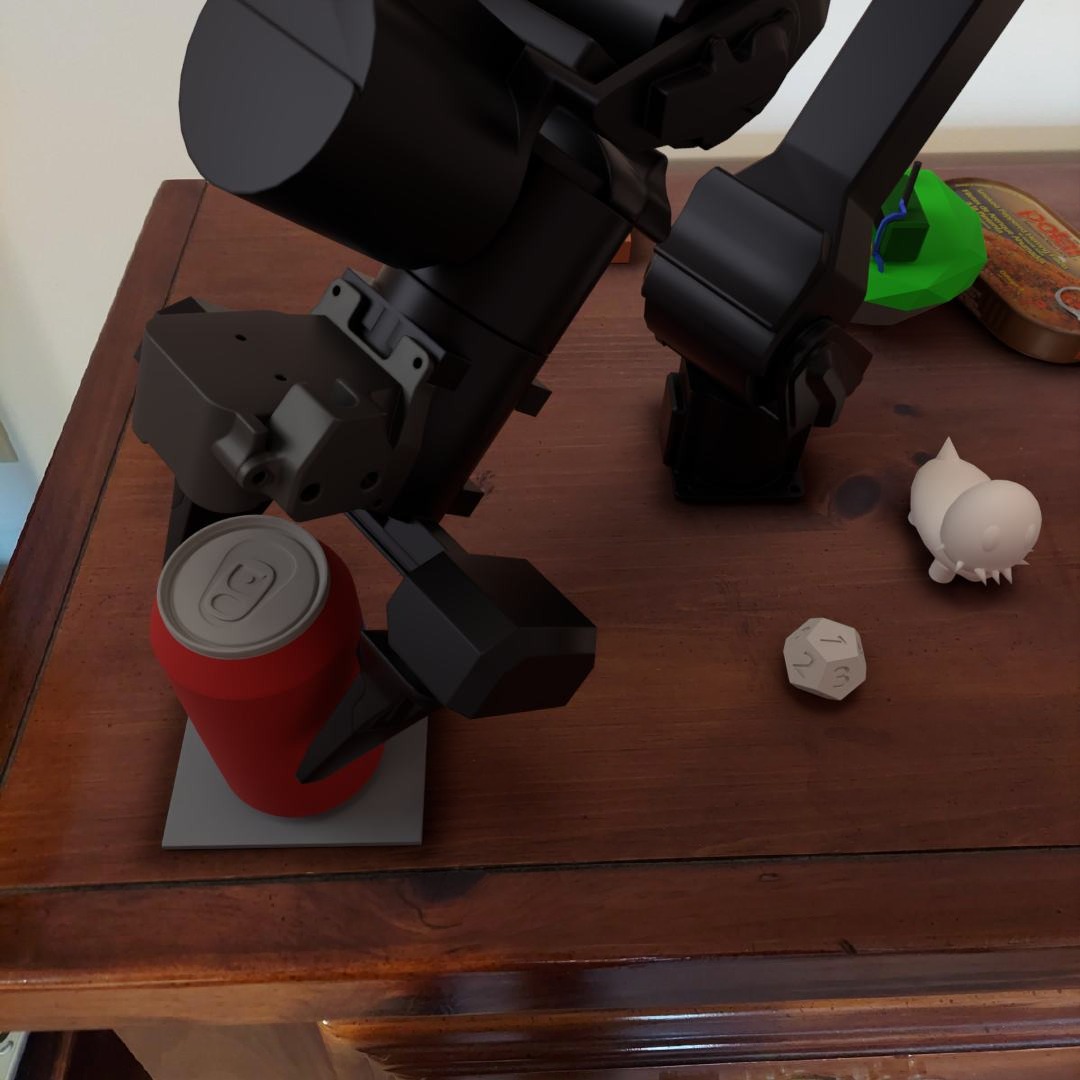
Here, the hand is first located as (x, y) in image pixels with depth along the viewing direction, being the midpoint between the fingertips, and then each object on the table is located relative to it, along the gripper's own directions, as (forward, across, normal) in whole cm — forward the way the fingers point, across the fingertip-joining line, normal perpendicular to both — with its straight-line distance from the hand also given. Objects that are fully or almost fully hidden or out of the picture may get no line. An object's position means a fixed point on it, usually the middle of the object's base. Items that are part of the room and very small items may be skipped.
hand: (235, 685), depth 35 cm
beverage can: (+4, 0, +6) cm, 7 cm away
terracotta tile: (-19, -18, +29) cm, 39 cm away
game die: (-9, +11, +20) cm, 25 cm away
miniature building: (-24, -4, +35) cm, 43 cm away
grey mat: (+4, 0, +6) cm, 7 cm away
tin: (-28, 0, +37) cm, 47 cm away
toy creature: (-16, +11, +27) cm, 34 cm away
